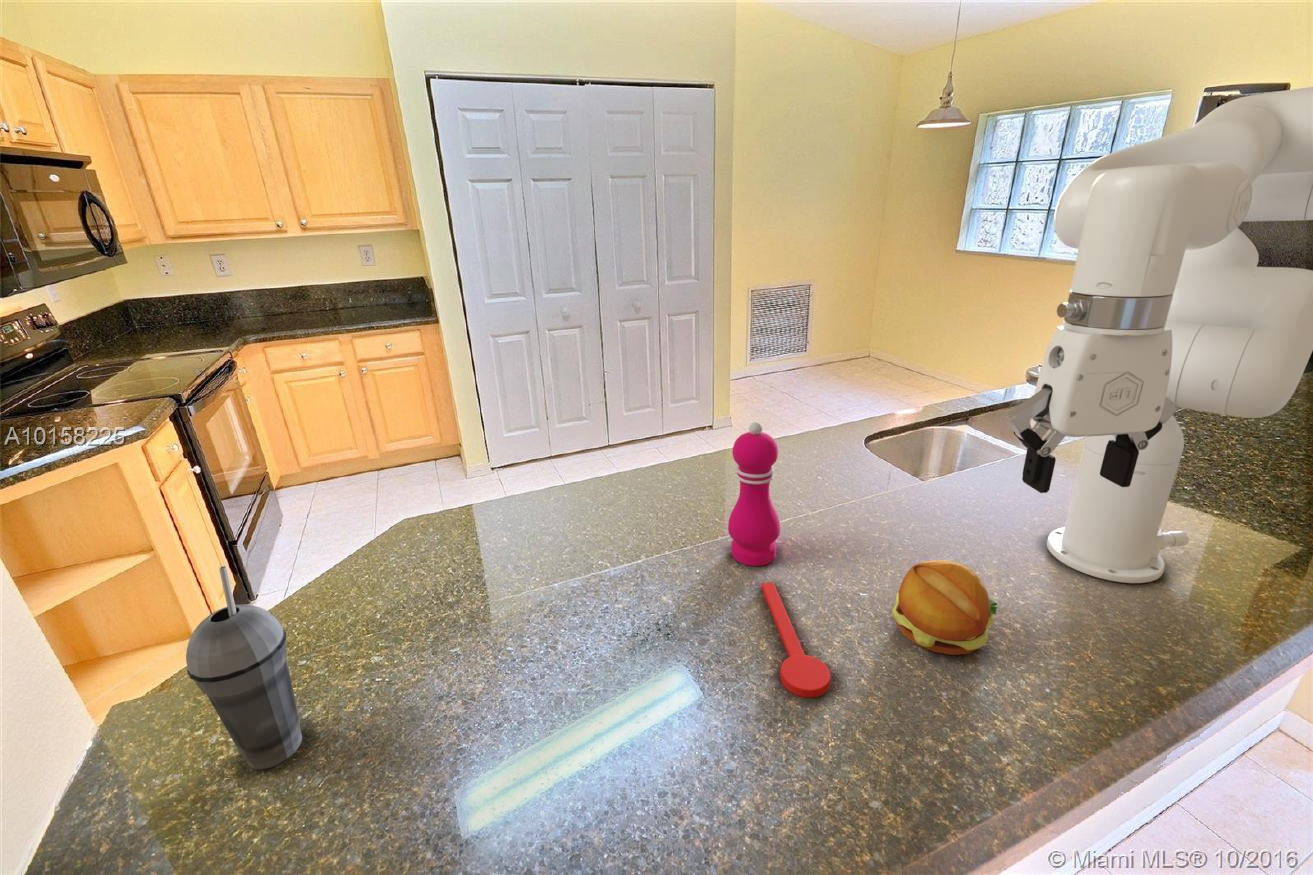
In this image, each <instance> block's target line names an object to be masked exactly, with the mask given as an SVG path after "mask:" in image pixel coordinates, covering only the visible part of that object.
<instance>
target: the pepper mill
mask: <svg viewBox="0 0 1313 875" xmlns="http://www.w3.org/2000/svg"><path fill="white" fill-rule="evenodd" d="M731 452H732V458H733V461H734V462H735V463H736V464H737V466H736V467H735V471H736V474H735V477H736V479H737V480H738V481H739V494H738V498H737V501H736V502H735V505H734V507H733V508H732V511H731V512H730V516H729V518H728V525H727V531H728V534H729V536H730V537H731V539H732V540H731V550H730V551H731V556H732V558H733V559H734V560H735V561H736V562H738V563H740V564H742V565H746V566H750V567H760V566H765V565H768V564H771V563H772V562H773V561H774V560H775V559H776V556H777V543H776V540H777V539H778V538H779V536H780V534H781V522H780V518H779V515H778V513H777V510H776V508H775V506H774V504H773V502H772V499H771V495H770V494H771V493H770V485H771V481H773V479H774V472H775V468H774V464H775V463H776V462H777V460H778V457H779V447H778V444H777V442H776V440H775V438H774V437H773V436H771V435H770V434H768V433H766V432H763V425H762V424H761V423H760V422H758V421H753V422H751V423H750V424H749V426H748V431H747V432H745V433H742V434H740V435H739V436H738V437H737V438H736V439H735V441H734V443H733V446H732V451H731Z"/></svg>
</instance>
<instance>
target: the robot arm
mask: <svg viewBox="0 0 1313 875" xmlns="http://www.w3.org/2000/svg"><path fill="white" fill-rule="evenodd" d="M1054 210H1055V211H1054V218H1053V225H1054V226H1053V227H1054V231H1055V234H1056V237H1057V238H1058V240H1059V241H1060V242H1061V243H1063V244H1064V245H1065V246H1066V247H1069V248H1071V249H1072V248H1073V249H1077V255H1076V260H1075V264H1074V269H1073V275H1072V279H1071V283H1070V289H1069V294H1068V298H1067V302H1061V303H1060V304H1058V305H1057V308H1056V314H1057V316H1058V318H1060V319H1063V322H1062V325H1059V326H1057V327H1056V328H1055V331H1054V334H1053V335H1052V338H1051V340H1050V342H1049V346H1048V348H1047V350H1046V353H1045V356H1044V358H1043V360H1042V361H1043V362H1042V365H1041V368H1040V371H1039V374H1038V378H1037V382H1036V386H1035V390H1034V394H1033V395H1031V396H1029V398H1027V399H1025V400H1024V401H1022V402H1021V403H1020V404H1018V405H1016V406H1015V407H1014V408H1012V409H1011V410H1009V411H1008V412H1007V413H1006V415H1005V419H1006V421H1007V422H1008V424H1009V426H1010V428H1011V430H1013V434H1014V435H1015V437H1016V438H1017V439H1018V440H1019V441H1020V442H1021V445H1022V446H1023V447H1024V448H1026V453H1025V459H1024V462H1023V463H1024V464H1023V470H1022V482H1023V483H1024V484H1025V485H1027V486H1028V487H1030V488H1032V489H1034V490H1035V491H1037V492H1038V493H1040V494H1047V493H1048V492H1049V491H1050V489H1051V483H1052V480H1053V475H1054V471H1055V467H1056V466H1055V465H1056V461H1057V458H1056V457H1055V455H1052V453H1053V452H1054V450H1056V448H1057V447H1058V446H1059V445H1060V443H1061V442H1062V441H1063V440H1064V438H1065V437H1069V438H1085V439H1084V443H1083V446H1082V451H1081V455H1080V460H1079V463H1078V468H1077V472H1076V476H1075V481H1074V484H1073V490H1072V493H1071V498H1070V502H1069V506H1068V510H1067V514H1066V519H1065V523H1064V526H1063V527H1061V528H1057V529H1054V530H1052V531H1051V532H1050V533H1049V534H1048V536H1047V540H1046V548H1047V550H1048V551H1049V552H1050V553H1051V555H1052V556H1053V557H1054V558H1055V559H1057V560H1058V561H1059V562H1060V563H1062V564H1064V565H1065V566H1067V567H1068V568H1071V569H1073V570H1075V571H1078V572H1080V573H1083V574H1085V575H1087V576H1090V577H1094V578H1098V579H1100V580H1105V581H1110V582H1117V583H1124V584H1125V583H1126V584H1145V583H1151V582H1154V581H1156V580H1158V579H1160V578H1161V577H1162V575H1163V573H1164V572H1165V567H1166V564H1165V561H1164V559H1163V558H1162V557H1161V555H1160V554H1159V553H1160V550H1161V551H1162V550H1164V549H1166V548H1167V547H1169V548H1170V547H1171V548H1172V547H1183V546H1187V545H1188V544H1189V540H1190V539H1189V536H1188V535H1187V533H1185V532H1184V531H1181V530H1176V531H1175V530H1174V531H1166V532H1162V529H1161V525H1162V522H1163V518H1164V515H1165V512H1166V509H1167V505H1168V502H1169V498H1170V495H1171V492H1172V489H1173V485H1174V482H1175V479H1176V476H1177V472H1178V469H1179V465H1180V461H1181V459H1182V456H1183V453H1184V449H1185V448H1184V447H1185V438H1184V434H1183V431H1182V427H1181V426H1180V424H1179V422H1178V421H1177V419H1176V417H1175V416H1174V415H1175V413H1176V412H1177V411H1178V409H1184V410H1190V411H1197V412H1204V413H1210V414H1216V415H1222V416H1230V417H1237V418H1243V419H1244V418H1245V419H1262V418H1267V417H1269V416H1272V415H1274V414H1276V413H1278V412H1280V411H1281V409H1283V408H1284V407H1285V406H1286V405H1287V404H1288V402H1289V401H1290V400H1291V398H1292V396H1293V395H1294V393H1295V391H1296V390H1297V388H1298V386H1299V383H1300V381H1301V379H1302V377H1303V375H1304V372H1305V369H1306V367H1307V365H1308V363H1309V360H1310V358H1311V355H1312V353H1313V270H1312V269H1307V268H1299V267H1285V266H1282V267H1281V266H1277V267H1276V266H1258V264H1259V260H1260V259H1259V258H1260V256H1259V252H1258V250H1257V248H1256V246H1255V244H1254V243H1253V242H1252V240H1251V239H1250V238H1249V237H1248V235H1246V233H1244V232H1243V231H1242V230H1241V229H1240V228H1239V227H1240V226H1241V224H1242V223H1243V222H1244V223H1245V222H1246V223H1247V222H1285V221H1287V222H1289V221H1295V222H1296V221H1313V86H1309V87H1301V88H1293V89H1286V90H1285V89H1284V90H1279V91H1269V92H1263V93H1257V94H1250V95H1247V96H1241V97H1237V98H1234V99H1232V100H1229V101H1227V102H1225V103H1222V104H1220V105H1219V106H1218V107H1216V108H1214V109H1213V110H1211V111H1210V112H1209V113H1208V114H1206V115H1205V116H1203V117H1202V118H1201V119H1200V120H1199V121H1197V122H1196V123H1195V124H1194V125H1192V126H1191V127H1190V128H1187V129H1183V130H1180V131H1176V132H1173V133H1169V134H1167V135H1164V136H1160V137H1158V138H1154V139H1152V140H1149V141H1145V142H1142V143H1138V144H1136V145H1135V144H1134V145H1131V146H1127V147H1125V148H1122V149H1118V150H1116V151H1114V152H1110V153H1108V154H1105V155H1103V156H1101V157H1099V158H1097V159H1096V160H1094V161H1092V162H1091V163H1089V164H1088V165H1087V166H1085V167H1084V168H1082V169H1081V170H1080V171H1078V173H1077V174H1076V175H1075V176H1074V177H1073V178H1072V179H1071V180H1070V181H1069V182H1068V183H1067V185H1066V187H1065V188H1064V190H1063V191H1062V193H1061V195H1060V196H1059V198H1058V201H1057V204H1056V207H1055V209H1054ZM1031 420H1033V421H1034V422H1036V423H1035V424H1034V425H1033V427H1032V425H1031ZM1048 431H1050V432H1049V433H1048ZM1047 433H1048V434H1047ZM1046 434H1047V436H1045V435H1046ZM1044 436H1045V438H1044V439H1043V437H1044Z"/></svg>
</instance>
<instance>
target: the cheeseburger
mask: <svg viewBox="0 0 1313 875" xmlns="http://www.w3.org/2000/svg"><path fill="white" fill-rule="evenodd" d="M997 605H998V603H997V602H996V601H994V600H992V599H991V598H990V596H989V593H988V590H987V588H986V586H985V584H984V582H983V581H982V579H981V578H980V577H979V576H978V574H977V573H976V572H974V570H972V568H971V567H968V566H967V565H965V564H962V563H960V562H957V561H956V562H955V561H951V560H943V559H932V560H925V561H921V562H918V563H916V564H914V565H913V566H912V567H910V569H908V571H907V572H906V573H905V575H904V577H903V578H902V581H901V583H900V586H899V589H898V591H897V592H896V594H895V605H894V607H893V609H892V610H891V612H892V616H893V618H894V620H895V622H896V626H897V628H898V629H899V630H900V631H901V633H902V634H903V636H905V638H906V639H909V640H910V641H912V643H914V644H916V645H917V646H919V647H922V648H925V649H926V650H929V651H932V652H934V653H939V654H945V655H952V656H956V655H966V654H967V655H968V654H971V653H972V652H974V651H976V650H979V649H981V648H982V647H983V646H985V645H986V643H987V642H988V636H989V628H990V627H991V626H992V625H993V624H994V619H995V616H994V615H997V609H998V606H997Z"/></svg>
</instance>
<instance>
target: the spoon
mask: <svg viewBox="0 0 1313 875" xmlns="http://www.w3.org/2000/svg"><path fill="white" fill-rule="evenodd" d="M760 586H761V587H760V588H761V590H762V593H763V596H764V599H765V601H766V603H767V606H768V608H769V611H770V614H771V616H772V618H773V621H774V624H775V626H776V629H777V632H778V634H779V637H780V639H781V642H782V644H783V646H784V650H785V651H786V654H787V656H788V657H787V658H786V659H785V660H783V662H782V663H781V666H780V674H779V675H780V681H781V683H782V685H783V687H784V688H785V689H786V690H787V691H788V692H790V693H792V694H794V695H796V696H798V697H802V698H807V699H810V698H818V697H820V696H822V695H824V694H825V693H827V692H828V690H829V689H830V686H831V671H830V669H829V668H828V666H827V665H826V664H825V663H824V662H823V661H821V660H820V659H818V658H817V657H814V656H810V655H806V654H805V652H804V650H803V647H802V645H801V643H800V641H799V638H798V636H797V634H796V631H795V629H794V627H793V624H792V622H791V620H790V618H789V615H788V613H787V611H786V608H785V605H784V604H783V601H782V598H781V597H780V594H779V592H778V589H777V588H776V585H775V583H774V582H761V585H760Z"/></svg>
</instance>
